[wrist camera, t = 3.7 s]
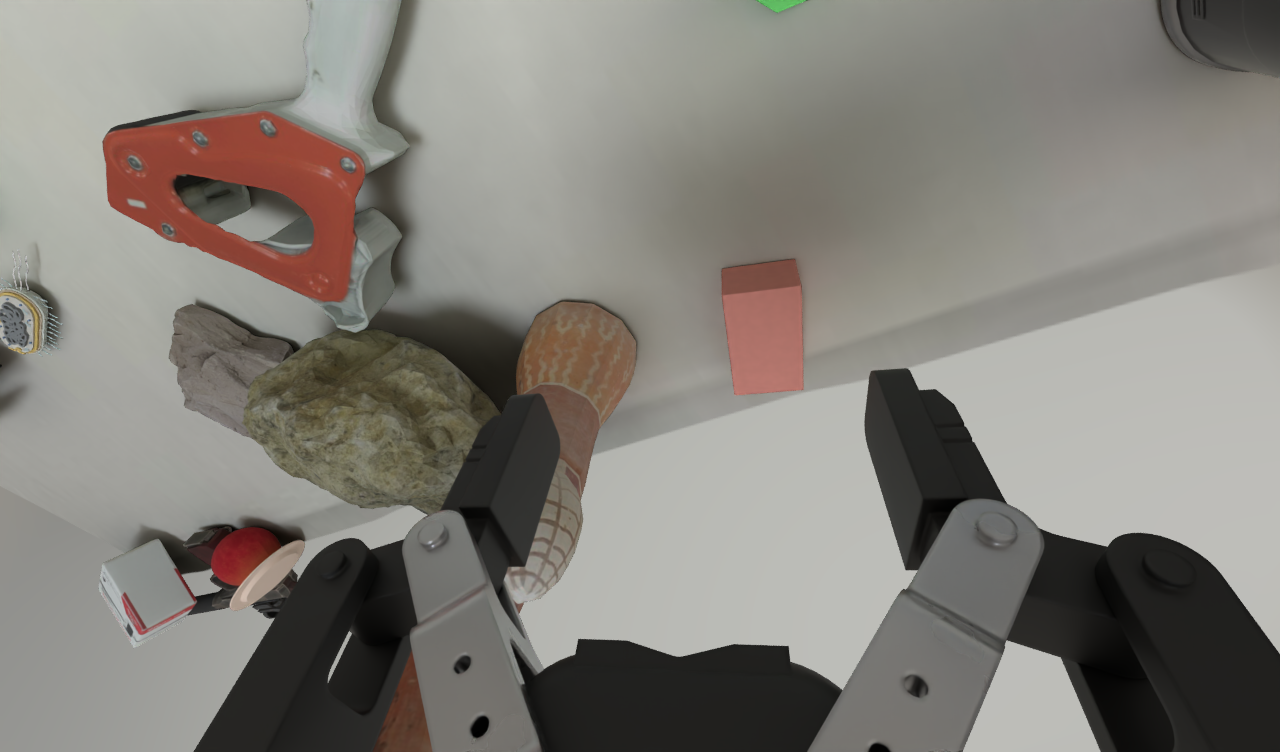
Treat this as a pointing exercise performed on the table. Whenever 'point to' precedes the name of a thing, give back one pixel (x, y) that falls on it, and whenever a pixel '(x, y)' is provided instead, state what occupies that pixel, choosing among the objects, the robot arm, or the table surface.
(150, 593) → the ink box
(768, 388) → the eraser
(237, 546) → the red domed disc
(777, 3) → the game piece
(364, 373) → the rock
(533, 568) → the plant stem model
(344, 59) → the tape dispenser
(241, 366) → the stone
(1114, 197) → the table surface
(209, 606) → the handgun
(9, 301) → the bacterium model
